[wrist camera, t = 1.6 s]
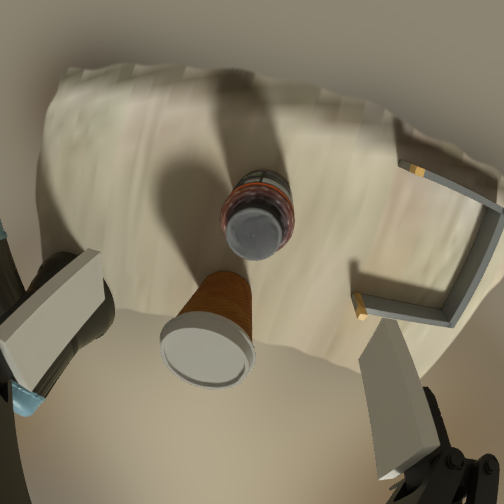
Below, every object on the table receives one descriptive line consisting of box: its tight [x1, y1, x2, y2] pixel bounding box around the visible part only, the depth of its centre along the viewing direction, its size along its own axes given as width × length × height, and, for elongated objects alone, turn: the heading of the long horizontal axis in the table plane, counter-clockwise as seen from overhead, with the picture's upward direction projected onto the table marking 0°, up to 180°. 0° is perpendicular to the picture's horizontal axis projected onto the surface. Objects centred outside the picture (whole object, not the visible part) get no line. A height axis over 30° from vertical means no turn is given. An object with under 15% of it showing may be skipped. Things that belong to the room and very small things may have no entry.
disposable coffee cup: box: [160, 271, 256, 390], centre depth 30 cm, size 10×10×12 cm
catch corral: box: [351, 160, 504, 328], centre depth 28 cm, size 16×18×4 cm
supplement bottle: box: [220, 170, 295, 261], centre depth 25 cm, size 6×6×11 cm
